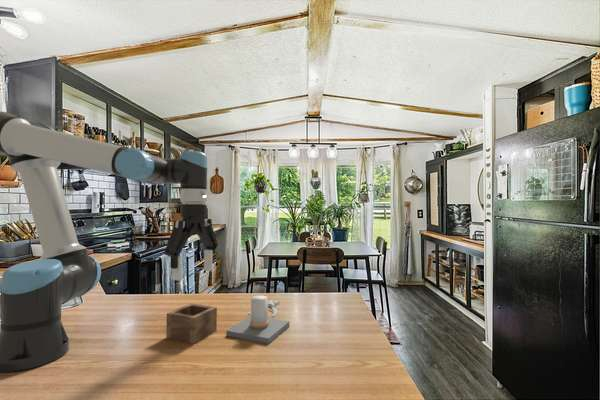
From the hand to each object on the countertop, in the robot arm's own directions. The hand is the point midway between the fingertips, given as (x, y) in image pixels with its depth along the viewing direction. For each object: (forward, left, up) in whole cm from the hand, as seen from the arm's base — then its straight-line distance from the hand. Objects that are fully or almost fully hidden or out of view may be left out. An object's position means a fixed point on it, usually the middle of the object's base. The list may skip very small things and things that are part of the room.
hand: (193, 275), depth 94 cm
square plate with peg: (+10, -17, -18) cm, 26 cm away
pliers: (+29, -10, -18) cm, 36 cm away
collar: (0, 0, -18) cm, 18 cm away
